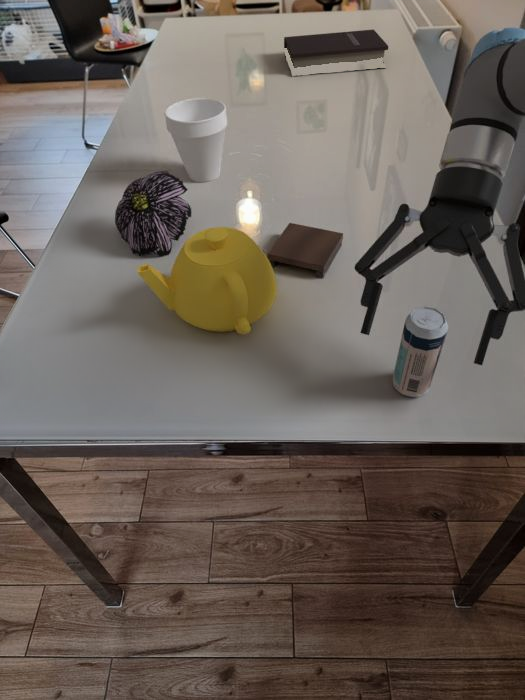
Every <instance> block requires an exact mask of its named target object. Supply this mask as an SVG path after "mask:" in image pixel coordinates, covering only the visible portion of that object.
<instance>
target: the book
mask: <svg viewBox="0 0 525 700" xmlns="http://www.w3.org/2000/svg"><path fill="white" fill-rule="evenodd" d="M284 48H287V50H288V53H289V55H290V58H291V61H292V63H293V66H294V68H297V67H306V66H311V65H322V64H329V63H339V62H357V61H363V60H370V59H377V58H381V57H382V58H383V57H384V58H385V51H389V45H388V44H387V42H386V41H385V40H384V39H383V38H382V37H381V36H380V35H379V34H378V33H377V31H376V30H375V29H363V30H362V29H361V30H349V31H340V32H339V31H338V32H328V33H317V34H307V35H306V34H305V35H293V36H284V37H283V49H284Z"/></svg>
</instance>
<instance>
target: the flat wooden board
mask: <svg viewBox="0 0 525 700" xmlns="http://www.w3.org/2000/svg"><path fill="white" fill-rule="evenodd" d="M343 239H344V233H343V232H340V231H339V232H337V231H333V230H328V229H323V228H318V227H313V226H308V225H304V224H298V223H294V222H289V223H288V224H287V226H286V227H285V228H284V230H283V231H282V233H281V234H280V235H279V237H278V238H277V239H276V241H275V242H274V243H273V245H272V246H271V248H270V249H269V251H268V252H267V254H266V256H267V258H268V260H269V262H270V264H271V266H272V268H275V267H276V266H277V265H278V264H279V263H281V264H286V265H290V266H295V267H298V268H303V269H308V270H313V271H315V272H316V275H315V276H316V278H319V279H324V278H325V276H326V274H327V272H328V270H329V268H330V267H331V265H332V264H333V261H334V260H335V258H336V256H337V255H338V252H339V251H340V249H341V247H342V245H343Z"/></svg>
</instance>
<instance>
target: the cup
mask: <svg viewBox="0 0 525 700" xmlns="http://www.w3.org/2000/svg"><path fill="white" fill-rule="evenodd" d="M164 116H165V117H164V118H165V124H166V129H167V132H168V133H170V135H171V137H172V140H173V142H174V145H175V147H176V149H177V152H178V154H179V157H180V159H181V161H182V164H183V167H184V168H185V171H186V173H187V175H188V179H190V180H191V181H193V182H197V183H208V182H212V181H215V180H216V179H218V178H219V177H220V175H221V171H222V170H221V168H222V161H223V160H222V159H223V154H224V153H223V152H224V145H225V144H224V143H225V134H226V127H227V126H228V116H227V107H226V104H225V103H224V102H222V101H220V100H218V99H215V98H208V97H194V98H187V99H182V100H180V101H177V102H174V103H172V104H170V105H169V106H168V107H167V108H166V109H165V110H164Z"/></svg>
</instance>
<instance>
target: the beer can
mask: <svg viewBox="0 0 525 700" xmlns="http://www.w3.org/2000/svg"><path fill="white" fill-rule="evenodd" d="M448 331H449V325H448V322H447V319H446V317H445V314H444V313H443V312H442V311H440V310H439V309H437V308H435V307H430V306H425V305H424V306H421V307H416V308H414V309H413V310H412V311H411V313H409V314H407V316H406V317H405V320H404V324H403V329H402V334H401V339H400V343H399V347H398V352H397V357H396V361H395V366H394V371H393V375H392V386H393V387H394V389H395V390H396V391H397V392H399V393H400V394H402V395H404V396H407V397H410V398H416V397H422V396H424V395H426V394H427V393H428V392H429V391H430V388H431V386H432V382H433V378H434V376H435V373H436V369H437V365H438V363H439V359H440V356H441V353H442V350H443V347H444V344H445V340H446V336H447V334H448Z"/></svg>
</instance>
